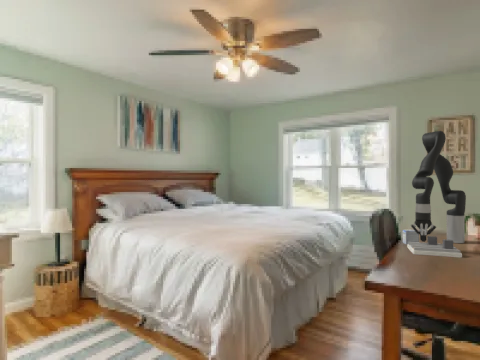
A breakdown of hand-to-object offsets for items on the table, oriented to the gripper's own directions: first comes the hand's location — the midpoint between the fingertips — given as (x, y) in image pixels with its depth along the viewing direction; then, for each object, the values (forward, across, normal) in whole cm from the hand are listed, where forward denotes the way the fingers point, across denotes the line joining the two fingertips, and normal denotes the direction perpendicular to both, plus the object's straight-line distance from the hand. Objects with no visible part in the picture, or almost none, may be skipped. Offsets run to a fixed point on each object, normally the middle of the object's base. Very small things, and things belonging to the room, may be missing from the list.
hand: (423, 241), depth 166 cm
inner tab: (+3, -4, 0) cm, 5 cm away
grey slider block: (+2, -10, +8) cm, 13 cm away
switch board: (+5, -4, +4) cm, 7 cm away
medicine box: (+5, +4, -15) cm, 16 cm away
